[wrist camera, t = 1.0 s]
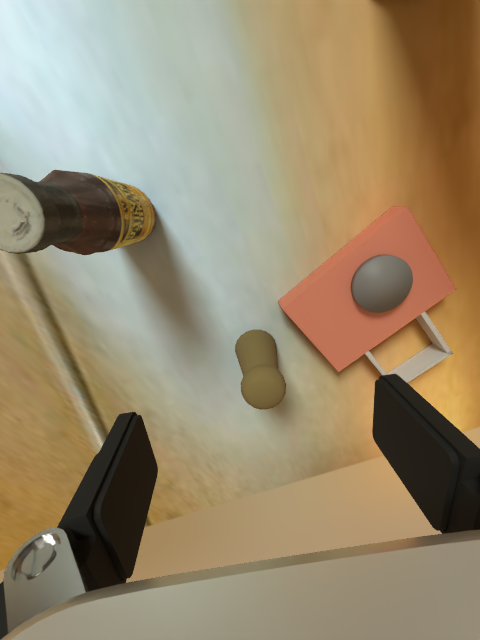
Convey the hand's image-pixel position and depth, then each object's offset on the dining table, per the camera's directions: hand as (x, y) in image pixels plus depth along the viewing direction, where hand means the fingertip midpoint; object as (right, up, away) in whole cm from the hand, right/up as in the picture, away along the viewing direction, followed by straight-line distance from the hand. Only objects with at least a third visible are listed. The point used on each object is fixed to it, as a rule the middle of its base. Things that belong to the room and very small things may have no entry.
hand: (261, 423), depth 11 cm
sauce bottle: (-14, +17, +22) cm, 31 cm away
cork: (+1, 0, +30) cm, 30 cm away
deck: (+18, +5, +28) cm, 34 cm away
